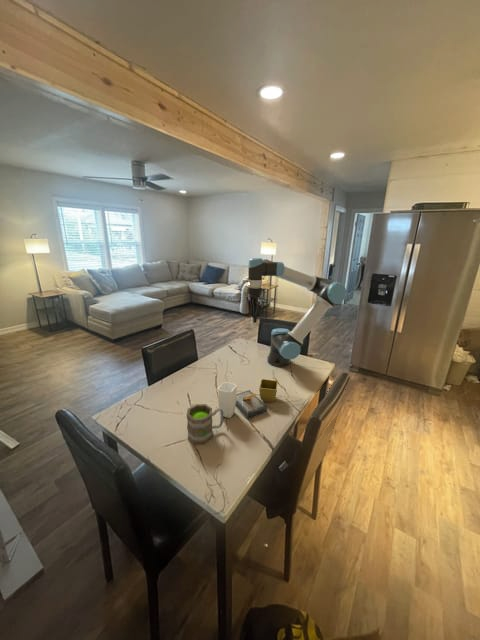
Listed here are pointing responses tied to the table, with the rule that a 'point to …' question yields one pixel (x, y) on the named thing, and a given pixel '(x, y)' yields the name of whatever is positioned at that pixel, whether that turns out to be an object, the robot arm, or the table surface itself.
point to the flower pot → (268, 390)
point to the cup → (227, 398)
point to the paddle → (248, 396)
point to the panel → (250, 405)
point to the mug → (201, 423)
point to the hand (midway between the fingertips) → (253, 327)
